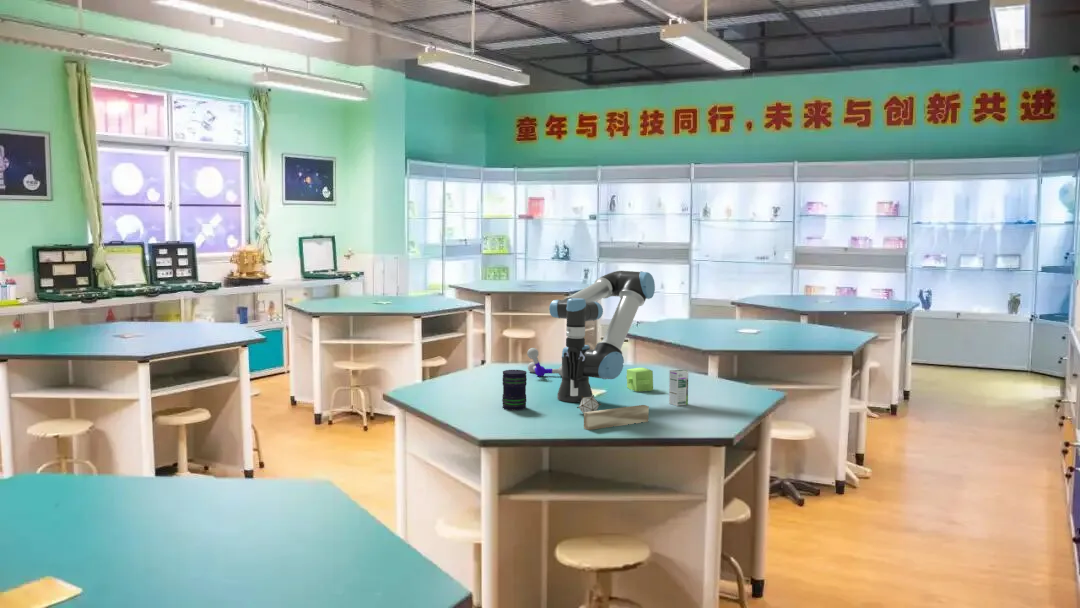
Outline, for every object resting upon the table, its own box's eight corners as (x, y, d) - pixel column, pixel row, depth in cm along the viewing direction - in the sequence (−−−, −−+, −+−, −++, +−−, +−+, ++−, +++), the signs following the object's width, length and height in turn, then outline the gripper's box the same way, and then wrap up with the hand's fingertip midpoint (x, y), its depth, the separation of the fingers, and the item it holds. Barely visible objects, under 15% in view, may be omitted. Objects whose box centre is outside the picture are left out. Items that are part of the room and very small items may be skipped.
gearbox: (619, 387, 405) (619, 367, 404) (639, 385, 408) (638, 365, 407) (635, 394, 388) (635, 373, 387) (656, 391, 391) (655, 371, 390)
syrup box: (676, 406, 361) (677, 371, 360) (668, 403, 367) (669, 369, 365) (688, 405, 364) (689, 370, 363) (679, 402, 369) (680, 368, 368)
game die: (592, 426, 340) (598, 409, 333) (572, 417, 341) (578, 400, 335) (599, 411, 346) (605, 394, 340) (579, 402, 348) (585, 385, 341)
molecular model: (569, 379, 422) (569, 349, 420) (526, 379, 422) (527, 348, 420) (568, 372, 443) (568, 343, 442) (527, 371, 443) (528, 342, 442)
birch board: (583, 428, 320) (583, 412, 319) (643, 420, 334) (643, 404, 334) (588, 430, 317) (588, 413, 316) (648, 421, 332) (648, 406, 331)
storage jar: (518, 411, 347) (518, 374, 346) (497, 408, 352) (497, 372, 351) (530, 407, 356) (531, 371, 355) (510, 404, 361) (510, 368, 359)
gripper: (558, 335, 350) (557, 393, 352) (576, 339, 339) (575, 399, 341) (574, 335, 354) (572, 392, 356) (592, 338, 343) (591, 397, 345)
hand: (574, 395), depth 348 cm, fingers closed
